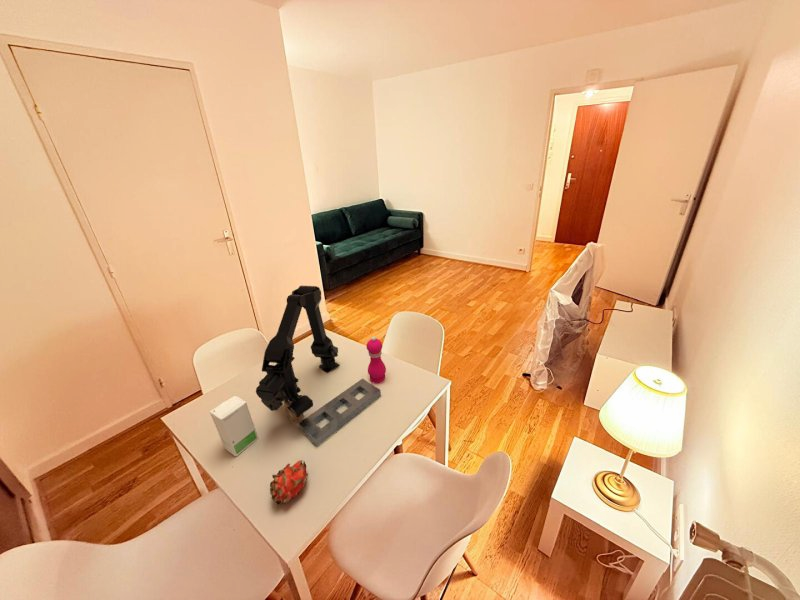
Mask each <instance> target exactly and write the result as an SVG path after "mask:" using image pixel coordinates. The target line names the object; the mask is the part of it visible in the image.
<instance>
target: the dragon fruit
mask: <svg viewBox="0 0 800 600" xmlns="http://www.w3.org/2000/svg"><path fill="white" fill-rule="evenodd" d="M307 469H308V468H307V464H306V462H305V460H300V459H299V460H298V461H296V462H295V463H294V464H293V465H291V463H287V464H286V465H285V466H284V468H282V469H280V470H279V471H277V473H276V474H272V478H273V480H272V481H270V484H269V487H270V488H269V493H270V496H271V500H272V501H273V502H275V503H276V504H277V506H280V505H281V504H287V503H289V501H290V500H291V499H292V498H299V497H300V491H302V490H303V489H304V487H305V484H306V480H307V477H308V476H309V474H308V473H307Z"/></svg>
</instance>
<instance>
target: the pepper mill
mask: <svg viewBox="0 0 800 600" xmlns="http://www.w3.org/2000/svg"><path fill="white" fill-rule="evenodd" d="M382 349H383V342H382V341H381V339H378V338H377V337H376V336H372V337H371V339H369V340H368V341H367V342H366V350H367V352H368V356H369V357H370V361H369V364H368V366H367V373H368V375H369V380H370V382H371V384H375V385H377V384H382V383H384V381H386V372H387V367H386V365H385V363H384V361H383V360H382V358H381V355H382V354H383V353H382Z"/></svg>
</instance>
